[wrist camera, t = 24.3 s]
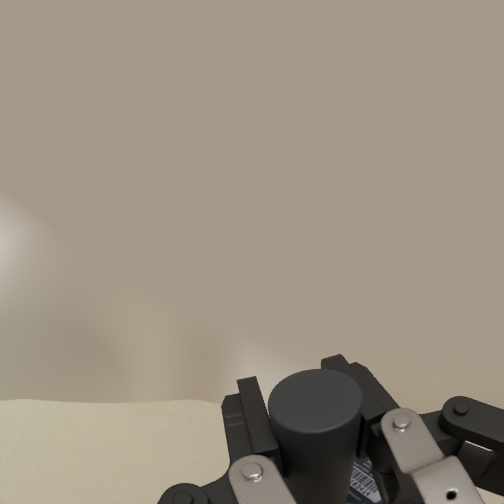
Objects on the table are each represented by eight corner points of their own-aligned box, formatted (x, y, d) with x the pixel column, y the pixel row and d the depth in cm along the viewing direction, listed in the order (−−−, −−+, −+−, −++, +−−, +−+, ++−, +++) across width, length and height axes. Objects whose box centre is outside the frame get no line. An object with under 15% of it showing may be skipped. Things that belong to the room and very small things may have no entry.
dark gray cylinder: (332, 497, 12) (342, 358, 9) (347, 533, 9) (379, 413, 6) (284, 509, 11) (259, 379, 9) (295, 548, 9) (278, 443, 6)
